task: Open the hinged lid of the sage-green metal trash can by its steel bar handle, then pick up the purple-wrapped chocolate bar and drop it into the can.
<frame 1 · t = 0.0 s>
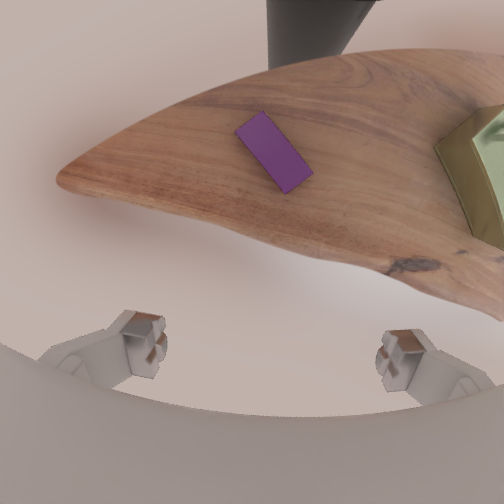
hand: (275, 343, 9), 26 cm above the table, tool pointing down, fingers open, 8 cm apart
trash can: (480, 171, 30), on the table
chocolate bar: (273, 153, 32), on the table
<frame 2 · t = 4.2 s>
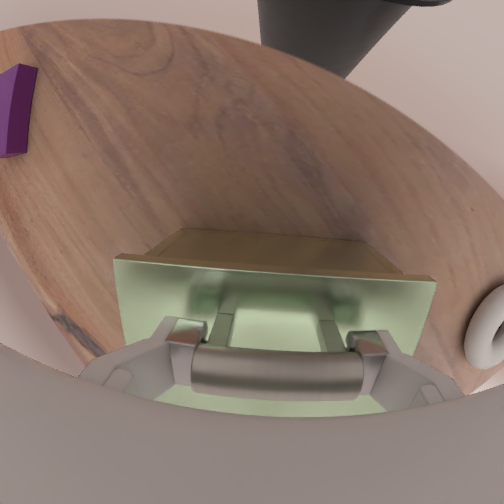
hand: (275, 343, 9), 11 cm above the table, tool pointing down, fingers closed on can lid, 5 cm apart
trash can: (266, 329, 22), on the table
chocolate bar: (19, 113, 17), on the table
donut: (490, 320, 21), on the table
can lid: (262, 441, 11), point 11 cm above the table, hinge at 0.0°, touching gripper
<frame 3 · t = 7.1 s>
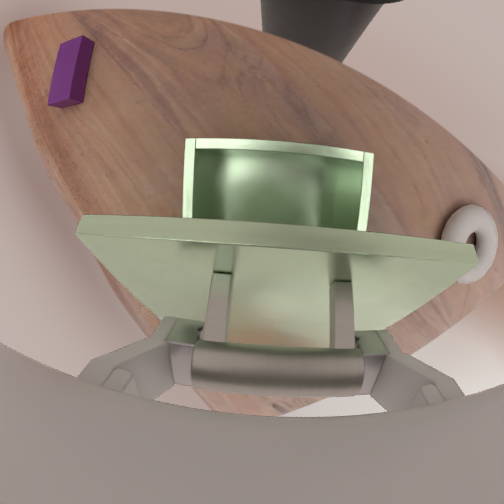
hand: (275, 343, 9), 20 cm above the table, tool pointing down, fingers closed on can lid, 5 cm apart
trash can: (272, 227, 29), on the table
chocolate bar: (77, 74, 24), on the table
donut: (462, 241, 28), on the table
can lid: (269, 351, 14), point 16 cm above the table, hinge at 45.2°, touching gripper
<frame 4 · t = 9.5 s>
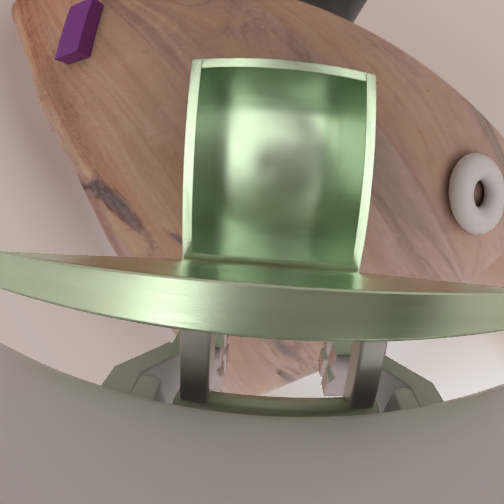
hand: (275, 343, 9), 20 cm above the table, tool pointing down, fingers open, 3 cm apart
trash can: (276, 164, 27), on the table
chocolate bar: (85, 33, 22), on the table
donut: (470, 191, 26), on the table
can lid: (273, 321, 12), point 18 cm above the table, hinge at 71.0°
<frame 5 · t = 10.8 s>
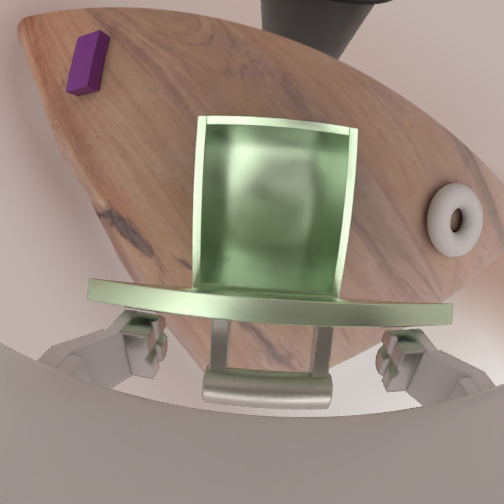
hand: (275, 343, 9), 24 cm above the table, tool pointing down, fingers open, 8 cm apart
trash can: (271, 200, 31), on the table
chocolate bar: (93, 65, 27), on the table
donut: (449, 218, 31), on the table
can lid: (266, 332, 16), point 18 cm above the table, hinge at 66.1°
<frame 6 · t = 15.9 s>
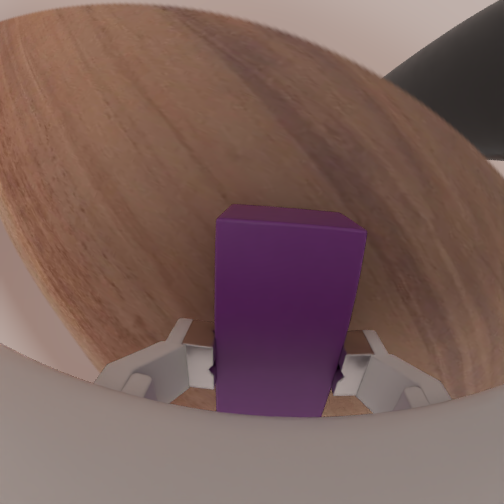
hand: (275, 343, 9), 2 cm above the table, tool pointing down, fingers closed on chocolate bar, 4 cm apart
chocolate bar: (276, 319, 11), on the table, touching gripper
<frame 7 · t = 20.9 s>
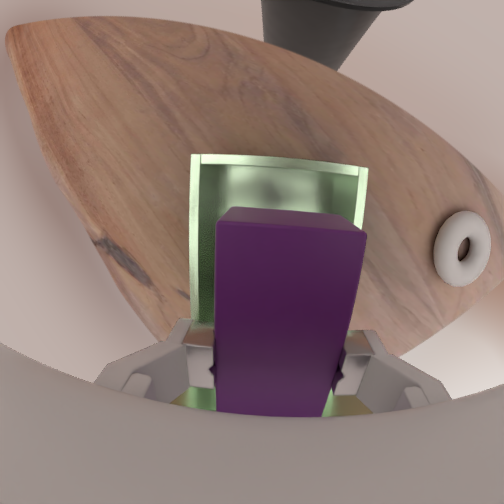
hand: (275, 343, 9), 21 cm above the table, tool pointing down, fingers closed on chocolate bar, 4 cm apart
trash can: (272, 232, 30), on the table
chocolate bar: (276, 320, 11), point 20 cm above the table, touching gripper
donut: (456, 245, 29), on the table
can lid: (263, 412, 16), point 18 cm above the table, hinge at 74.4°
when the fingers open (13 cm above the table, at t = 23.5 s): chocolate bar drops 11 cm, resting on trash can.
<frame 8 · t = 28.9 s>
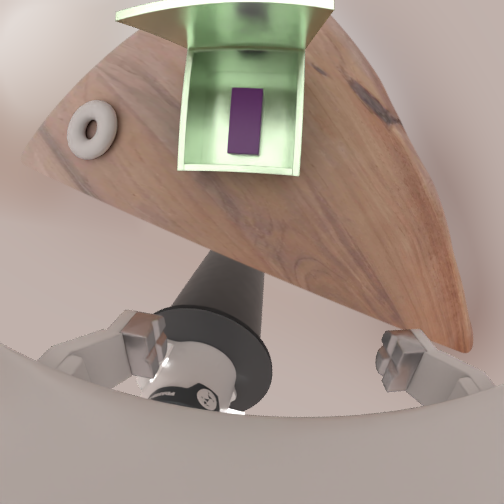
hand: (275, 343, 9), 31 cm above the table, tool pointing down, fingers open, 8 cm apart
trash can: (247, 118, 36), on the table
chocolate bar: (246, 123, 35), point 1 cm above the table, touching trash can
donut: (97, 130, 37), on the table
can lid: (236, 9, 17), point 18 cm above the table, hinge at 74.4°
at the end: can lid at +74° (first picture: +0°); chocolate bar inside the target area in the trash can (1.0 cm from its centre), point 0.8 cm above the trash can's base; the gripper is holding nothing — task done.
